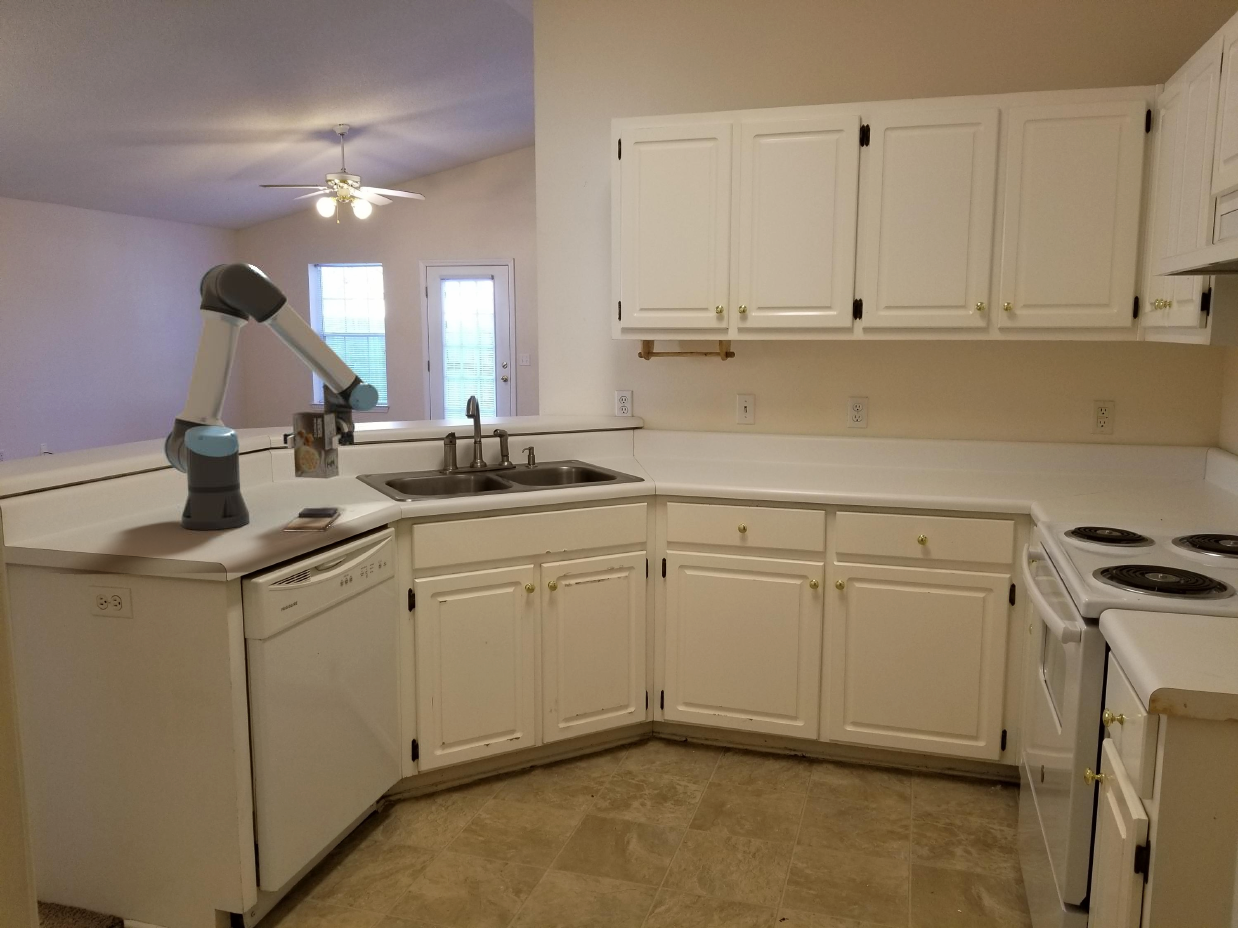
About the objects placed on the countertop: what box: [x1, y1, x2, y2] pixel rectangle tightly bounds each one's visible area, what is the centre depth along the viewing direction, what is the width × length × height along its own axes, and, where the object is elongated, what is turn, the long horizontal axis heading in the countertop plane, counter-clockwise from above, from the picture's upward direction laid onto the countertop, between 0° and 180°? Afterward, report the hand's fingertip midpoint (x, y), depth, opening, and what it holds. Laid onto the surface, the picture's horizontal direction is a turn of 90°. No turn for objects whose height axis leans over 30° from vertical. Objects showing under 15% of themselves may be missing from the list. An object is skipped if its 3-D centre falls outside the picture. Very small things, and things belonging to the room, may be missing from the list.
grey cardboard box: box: [292, 411, 340, 479], centre depth 225 cm, size 9×6×16 cm
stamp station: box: [282, 507, 342, 531], centre depth 222 cm, size 10×18×2 cm, turn 6°
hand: (311, 443), depth 221 cm, fingers closed on grey cardboard box, 10 cm apart
